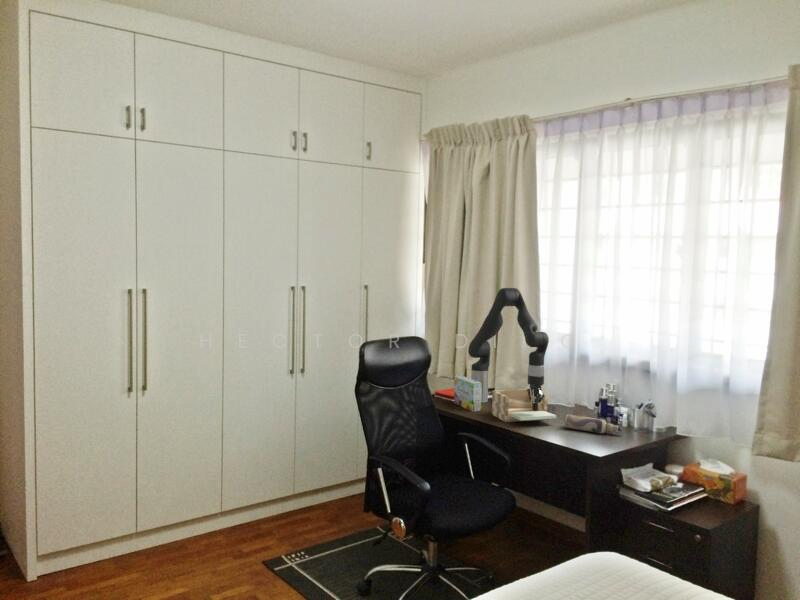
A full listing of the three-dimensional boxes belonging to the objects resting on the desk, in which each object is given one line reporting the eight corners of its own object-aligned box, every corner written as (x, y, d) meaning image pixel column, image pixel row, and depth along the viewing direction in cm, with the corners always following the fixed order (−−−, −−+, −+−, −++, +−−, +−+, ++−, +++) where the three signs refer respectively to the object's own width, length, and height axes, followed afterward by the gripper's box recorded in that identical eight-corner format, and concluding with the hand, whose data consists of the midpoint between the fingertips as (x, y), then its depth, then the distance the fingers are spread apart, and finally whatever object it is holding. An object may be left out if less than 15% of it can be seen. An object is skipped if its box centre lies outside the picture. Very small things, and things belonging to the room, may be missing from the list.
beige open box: (491, 414, 338) (492, 390, 337) (531, 412, 344) (532, 388, 343) (505, 421, 322) (506, 397, 322) (546, 419, 329) (547, 395, 328)
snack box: (453, 403, 361) (453, 375, 360) (462, 402, 363) (462, 375, 363) (472, 412, 342) (473, 383, 341) (482, 411, 344) (482, 382, 343)
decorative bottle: (563, 429, 310) (563, 415, 310) (568, 426, 316) (568, 412, 316) (620, 438, 296) (620, 423, 296) (624, 434, 303) (625, 420, 302)
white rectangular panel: (509, 412, 322) (520, 417, 311) (543, 410, 328) (556, 415, 316) (509, 416, 322) (520, 421, 311) (543, 414, 328) (556, 419, 316)
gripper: (522, 372, 321) (521, 407, 322) (535, 377, 308) (534, 414, 310) (536, 371, 323) (535, 407, 324) (550, 376, 311) (548, 413, 312)
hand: (534, 410), depth 317 cm, fingers closed
